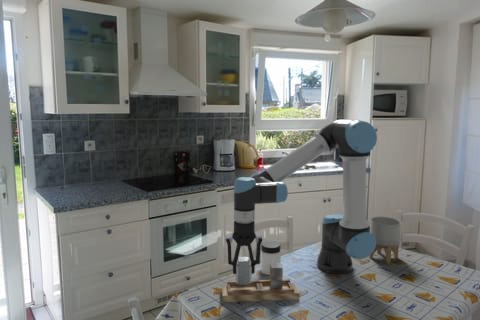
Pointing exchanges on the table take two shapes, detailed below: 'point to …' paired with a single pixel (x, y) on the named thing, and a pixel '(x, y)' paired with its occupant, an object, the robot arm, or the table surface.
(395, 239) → the planter
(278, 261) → the jar
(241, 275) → the grey rectangular prism
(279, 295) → the light wooden long frame
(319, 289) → the table surface
